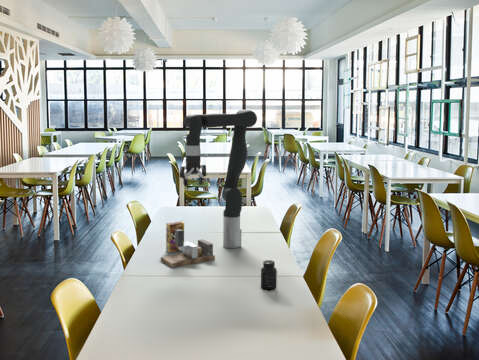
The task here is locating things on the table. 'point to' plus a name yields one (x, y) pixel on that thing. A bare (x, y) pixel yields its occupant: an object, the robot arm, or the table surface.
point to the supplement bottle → (268, 276)
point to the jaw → (185, 245)
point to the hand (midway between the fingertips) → (193, 185)
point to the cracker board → (185, 260)
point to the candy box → (172, 235)
